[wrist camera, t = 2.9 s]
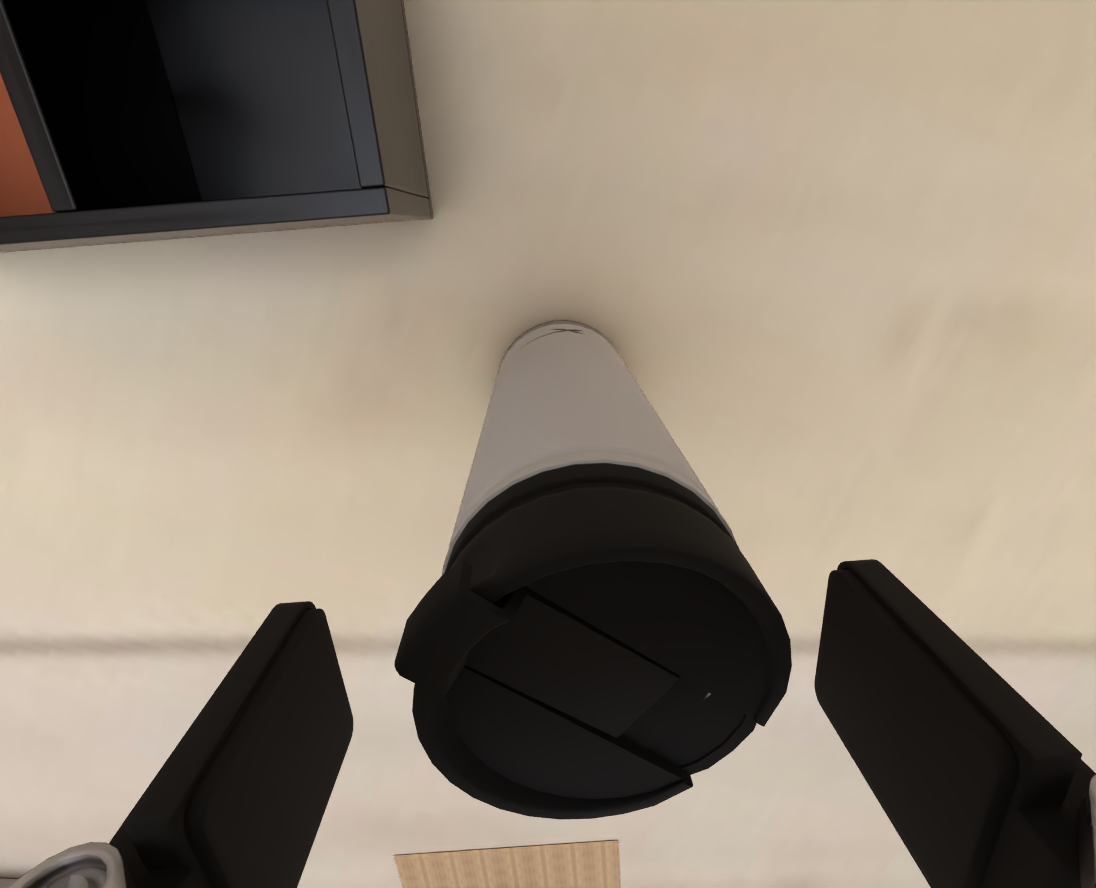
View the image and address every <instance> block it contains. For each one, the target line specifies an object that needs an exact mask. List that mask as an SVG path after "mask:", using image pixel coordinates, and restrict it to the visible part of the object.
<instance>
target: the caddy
mask: <svg viewBox="0 0 1096 888" xmlns="http://www.w3.org/2000/svg"><path fill="white" fill-rule="evenodd" d="M432 218H433V212H432V205H431V198H430V191H429V183H428V176H427V169H426V162H425V155H424V147H423V140H422V133H421V126H420V119H419V111H418V104H417V97H416V90H415V82H414V75H413V68H412V61H411V54H410V46H409V39H408V32H407V25H406V18H405V10H404V3H403V0H0V252H12V251H25V250H38V249H51V248H63V247H76V246H89V245H102V244H115V243H127V242H140V241H153V240H166V239H178V238H191V237H204V236H217V235H230V234H242V233H255V232H268V231H281V230H294V229H306V228H319V227H332V226H345V225H358V224H370V223H383V222H396V221H409V220H421V219H432Z"/></svg>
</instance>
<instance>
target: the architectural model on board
mask: <svg viewBox="0 0 1096 888" xmlns="http://www.w3.org/2000/svg"><path fill="white" fill-rule="evenodd" d="M394 858H395V862H396V865H397V869H398V872H399V876H400V879H401V883H402V886H403V888H620V871H619V851H618V840H616V841H602V842H587V843H572V844H558V845H543V846H529V847H514V848H499V849H485V850H470V851H455V852H441V853H426V854H412V855H397V856H394Z"/></svg>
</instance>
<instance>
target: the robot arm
mask: <svg viewBox="0 0 1096 888" xmlns="http://www.w3.org/2000/svg"><path fill="white" fill-rule="evenodd" d="M815 692H816V696H817V699H818V701H819V703H820V705H821V707H822V709H823V710H824V712H825V714H826V715H827V717H828V719H829V720H830V722H831V724H832V725H833V727H834V729H835V730H836V732H837V734H838V735H839V737H840V738H841V740H842V742H843V743H844V745H845V747H846V748H847V750H848V752H849V753H850V755H851V757H852V758H853V760H854V762H855V763H856V765H857V766H858V768H859V770H860V771H861V773H862V775H863V776H864V778H865V780H866V781H867V783H868V785H869V786H870V788H871V790H872V791H873V793H874V795H875V796H876V798H877V799H878V801H879V803H880V804H881V806H882V808H883V809H884V811H885V813H886V814H887V816H888V818H889V819H890V821H891V823H892V824H893V826H894V828H895V829H896V831H897V832H898V834H899V836H900V837H901V839H902V841H903V842H904V844H905V846H906V847H907V849H908V851H909V852H910V854H911V856H912V857H913V859H914V861H915V862H916V864H917V865H918V867H919V869H920V870H921V872H922V874H923V875H924V877H925V879H926V880H927V882H928V884H929V885H930V887H931V888H1096V773H1095V772H1094V771H1093V770H1092V769H1091V768H1090V767H1089V766H1088V765H1087V764H1085V763H1084V762H1083V761H1082V760H1081V756H1082V753H1081V752H1080V751H1079V750H1077V749H1076V748H1075V747H1074V746H1073V745H1072V744H1071V743H1070V742H1069V741H1068V740H1067V739H1066V738H1065V737H1064V736H1063V735H1062V734H1061V733H1060V732H1059V731H1057V730H1056V729H1055V728H1054V727H1053V726H1052V725H1051V724H1050V723H1049V722H1048V721H1047V720H1046V719H1045V718H1044V717H1043V716H1042V715H1041V714H1040V713H1039V712H1037V711H1036V710H1035V709H1034V708H1033V707H1032V706H1031V705H1030V704H1029V703H1028V702H1027V701H1026V700H1025V699H1024V698H1023V697H1022V696H1021V695H1020V694H1019V693H1017V692H1016V691H1015V690H1014V689H1013V688H1012V687H1011V686H1010V685H1009V684H1008V683H1007V682H1006V681H1005V680H1004V679H1003V678H1002V677H1001V676H1000V675H999V674H997V673H996V672H995V671H994V670H993V669H992V668H991V667H990V666H989V665H988V664H987V663H986V662H985V661H984V660H983V659H982V658H981V657H980V656H978V655H977V654H976V653H975V652H974V651H973V650H972V649H971V648H970V647H969V646H968V645H967V644H966V643H965V642H964V641H963V640H962V639H961V638H960V637H958V636H957V635H956V634H955V633H954V632H953V631H952V630H951V629H950V628H949V627H948V626H947V625H946V624H945V623H944V622H943V621H942V620H941V619H940V618H938V617H937V616H936V615H935V614H934V613H933V612H932V611H931V610H930V609H929V608H928V607H927V606H926V605H925V604H924V603H923V602H922V601H921V600H920V599H918V598H917V597H916V596H915V595H914V594H913V593H912V592H911V591H910V590H909V589H908V588H907V587H906V586H905V585H904V584H903V583H902V582H901V581H900V580H898V579H897V578H896V577H895V576H894V575H893V574H892V573H891V572H890V571H889V570H888V569H887V568H886V567H885V566H884V565H883V564H882V563H880V562H879V561H877V560H873V559H871V560H858V561H844V562H842V563H840V564H839V566H838V568H837V570H834V571H831V573H830V575H829V579H828V587H827V594H826V602H825V609H824V616H823V624H822V631H821V639H820V646H819V653H818V661H817V668H816V675H815ZM352 732H353V716H352V712H351V708H350V704H349V701H348V697H347V693H346V690H345V686H344V682H343V678H342V675H341V671H340V667H339V664H338V660H337V656H336V652H335V649H334V645H333V641H332V638H331V634H330V630H329V626H328V623H327V619H326V615H325V613H324V611H323V610H322V609H316V608H315V605H314V604H313V603H312V602H309V601H307V602H293V603H280V604H277V605H276V606H275V607H274V608H273V609H272V611H271V612H270V614H269V615H268V616H267V618H266V619H265V621H264V622H263V624H262V625H261V626H260V628H259V629H258V631H257V632H256V634H255V635H254V636H253V638H252V639H251V641H250V642H249V644H248V645H247V646H246V648H245V649H244V651H243V652H242V654H241V655H240V656H239V658H238V659H237V661H236V662H235V664H234V665H233V666H232V668H231V669H230V671H229V672H228V674H227V675H226V676H225V678H224V679H223V681H222V682H221V684H220V685H219V686H218V688H217V689H216V691H215V692H214V694H213V695H212V696H211V698H210V699H209V701H208V702H207V704H206V705H205V706H204V708H203V709H202V711H201V712H200V714H199V715H198V716H197V718H196V719H195V721H194V722H193V724H192V725H191V726H190V728H189V729H188V731H187V732H186V734H185V735H184V736H183V738H182V739H181V741H180V742H179V744H178V745H177V746H176V748H175V749H174V751H173V752H172V754H171V755H170V756H169V758H168V759H167V761H166V762H165V764H164V765H163V767H162V768H161V769H160V771H159V772H158V774H157V775H156V777H155V778H154V779H153V781H152V782H151V784H150V785H149V787H148V788H147V789H146V791H145V792H144V794H143V795H142V797H141V798H140V799H139V801H138V802H137V804H136V805H135V807H134V808H133V809H132V811H131V812H130V814H129V815H128V817H127V818H126V819H125V821H124V822H123V824H122V825H121V827H120V828H119V830H118V831H117V833H116V834H115V835H114V837H113V838H112V840H111V841H110V843H109V844H108V843H99V842H89V843H86V844H82V845H78V846H75V847H71V848H69V849H67V850H64V851H62V852H60V853H58V854H56V855H54V856H52V857H50V858H48V859H46V860H45V861H43V862H42V863H40V864H39V865H37V866H36V867H34V868H33V869H31V870H30V871H28V872H27V873H25V874H24V875H23V876H22V877H21V878H20V879H18V880H17V881H16V882H15V883H14V884H13V885H12V886H10V887H9V888H297V886H298V883H299V881H300V878H301V875H302V872H303V870H304V867H305V864H306V861H307V859H308V856H309V853H310V850H311V848H312V845H313V842H314V839H315V837H316V834H317V831H318V828H319V826H320V823H321V820H322V817H323V815H324V812H325V809H326V806H327V804H328V801H329V798H330V795H331V793H332V790H333V787H334V784H335V782H336V779H337V776H338V773H339V771H340V768H341V765H342V762H343V760H344V757H345V754H346V751H347V749H348V746H349V743H350V740H351V737H352Z"/></svg>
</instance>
